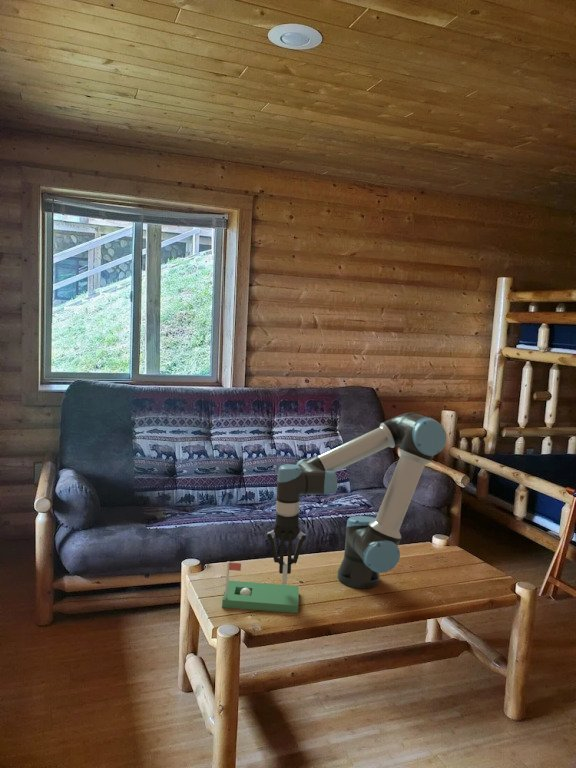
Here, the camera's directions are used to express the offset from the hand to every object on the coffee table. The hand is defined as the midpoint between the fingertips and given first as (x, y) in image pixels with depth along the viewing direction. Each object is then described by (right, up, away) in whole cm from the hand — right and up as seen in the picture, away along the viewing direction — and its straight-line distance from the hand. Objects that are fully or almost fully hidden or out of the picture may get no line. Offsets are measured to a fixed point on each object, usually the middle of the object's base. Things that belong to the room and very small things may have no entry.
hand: (284, 582), depth 193 cm
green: (-8, -6, 0) cm, 9 cm away
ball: (-13, -3, -1) cm, 13 cm away
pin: (-17, -3, -7) cm, 18 cm away
